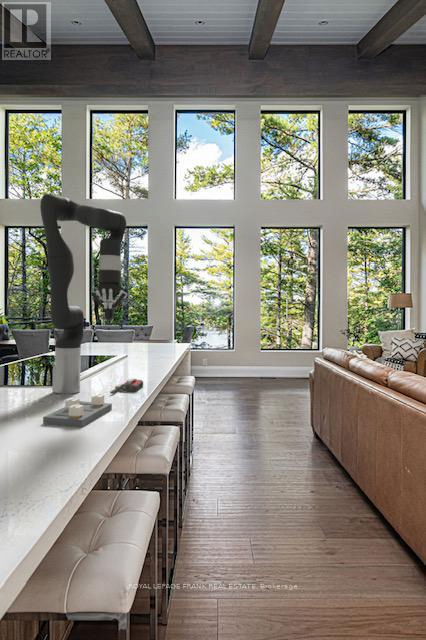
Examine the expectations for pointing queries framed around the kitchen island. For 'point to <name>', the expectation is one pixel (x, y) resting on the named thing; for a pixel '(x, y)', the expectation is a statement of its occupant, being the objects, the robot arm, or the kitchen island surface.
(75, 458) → the kitchen island surface
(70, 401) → the tab middle
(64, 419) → the switch panel
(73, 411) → the tab front
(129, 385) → the walkie-talkie
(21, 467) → the kitchen island surface
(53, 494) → the kitchen island surface
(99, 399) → the tab back
